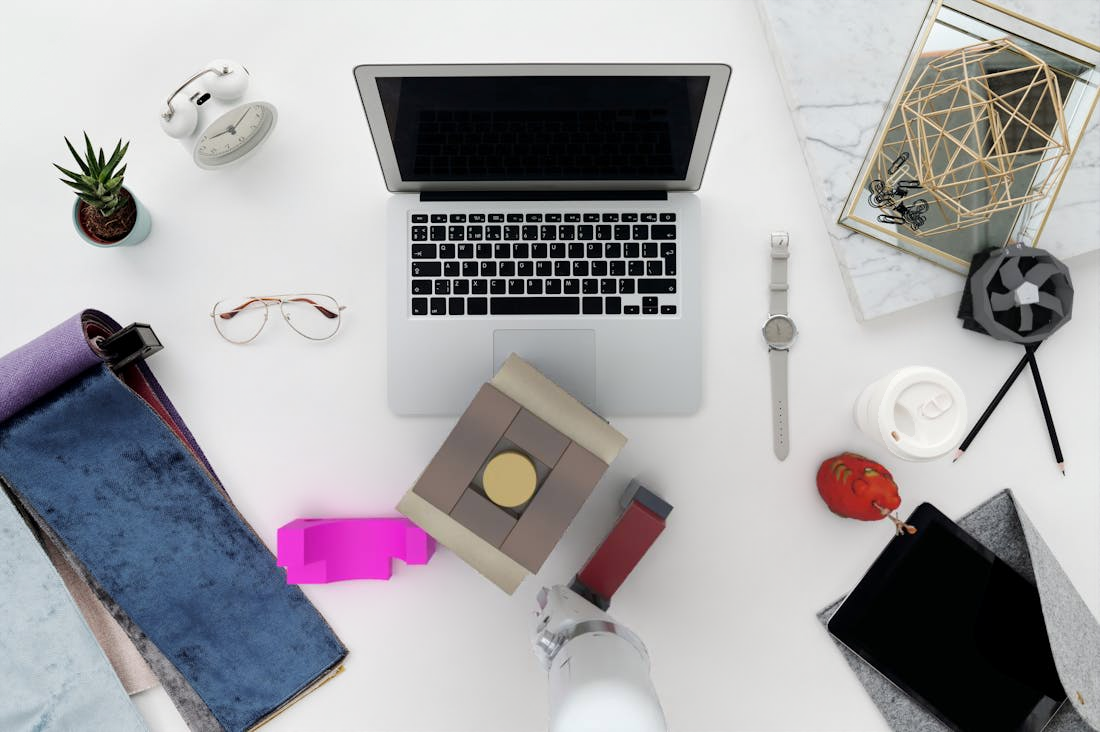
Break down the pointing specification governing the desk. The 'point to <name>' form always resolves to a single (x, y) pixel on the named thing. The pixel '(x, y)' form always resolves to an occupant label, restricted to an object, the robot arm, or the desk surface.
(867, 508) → the red clay folk toy
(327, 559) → the toy block
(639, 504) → the bar
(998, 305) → the cpu cooler
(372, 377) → the desk surface
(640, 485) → the dark blue-grey long block
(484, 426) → the interlocking block puzzle
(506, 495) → the button
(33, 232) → the desk surface
